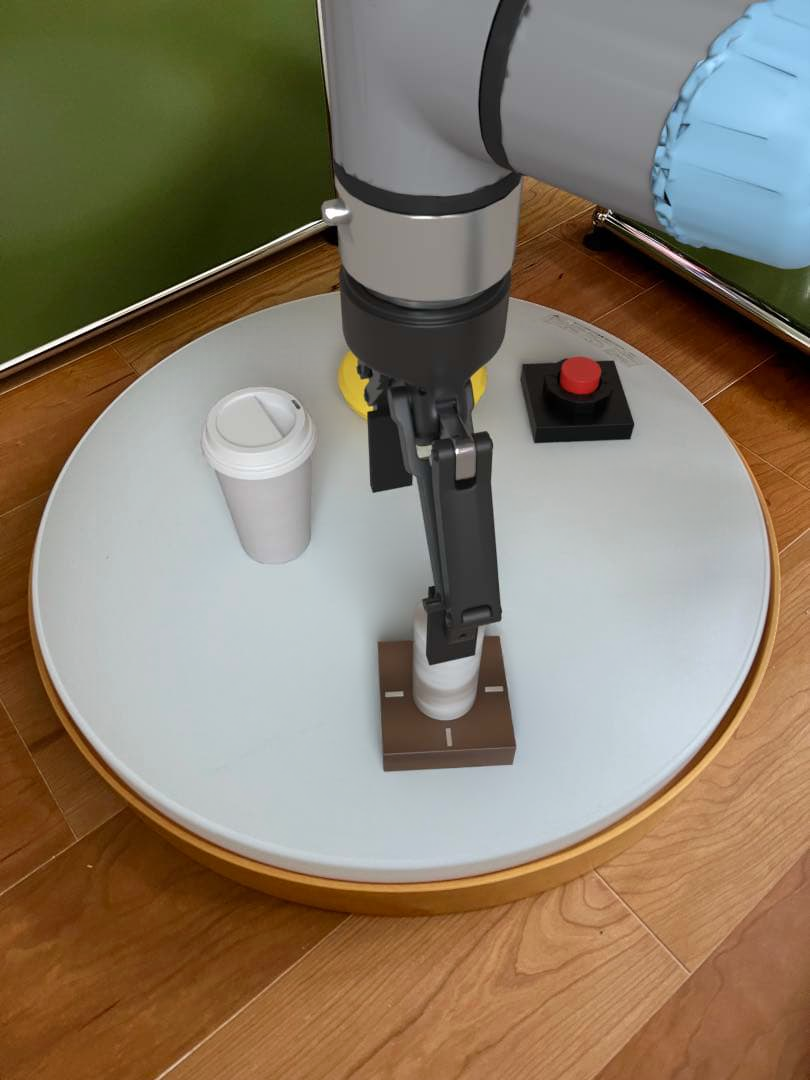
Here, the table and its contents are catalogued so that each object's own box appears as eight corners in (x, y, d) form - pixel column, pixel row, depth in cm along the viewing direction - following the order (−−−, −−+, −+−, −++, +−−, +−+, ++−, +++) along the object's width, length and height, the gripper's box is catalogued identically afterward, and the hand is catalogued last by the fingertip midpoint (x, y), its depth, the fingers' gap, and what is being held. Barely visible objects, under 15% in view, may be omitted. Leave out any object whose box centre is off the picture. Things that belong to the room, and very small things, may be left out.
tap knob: (479, 718, 68) (489, 645, 60) (414, 722, 68) (415, 649, 60) (472, 662, 72) (481, 586, 64) (410, 665, 71) (411, 589, 63)
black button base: (630, 439, 92) (638, 410, 89) (534, 443, 92) (538, 414, 89) (610, 375, 98) (617, 346, 95) (520, 379, 98) (524, 350, 95)
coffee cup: (331, 572, 81) (319, 455, 70) (225, 583, 80) (195, 467, 69) (323, 494, 87) (311, 375, 76) (224, 504, 86) (196, 385, 75)
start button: (601, 394, 91) (604, 381, 90) (562, 396, 91) (565, 382, 90) (594, 369, 94) (597, 355, 92) (556, 370, 93) (558, 357, 92)
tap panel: (512, 765, 69) (516, 746, 67) (383, 772, 69) (383, 753, 66) (496, 654, 76) (499, 634, 73) (378, 660, 75) (377, 640, 73)
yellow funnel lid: (379, 466, 90) (377, 414, 84) (315, 375, 98) (310, 322, 93) (513, 417, 94) (520, 364, 89) (440, 333, 103) (442, 281, 98)
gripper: (288, 136, 46) (318, 437, 62) (418, 482, 30) (412, 760, 47) (430, 118, 47) (422, 418, 63) (623, 442, 32) (548, 727, 48)
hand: (418, 564), depth 55 cm, fingers open, 13 cm apart
